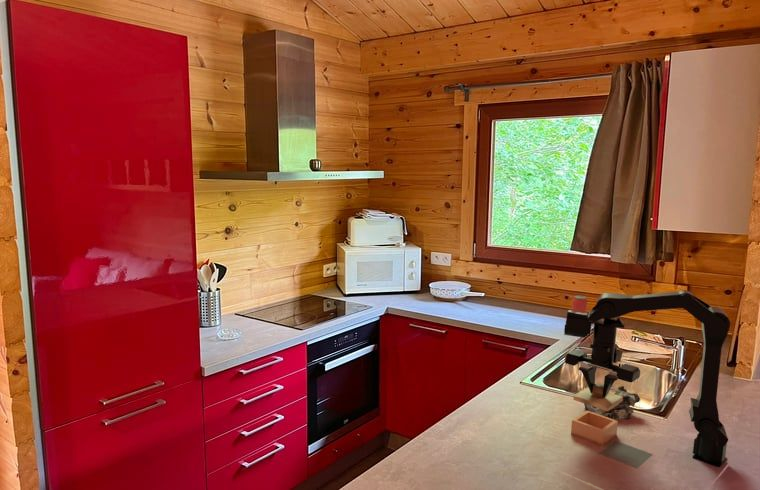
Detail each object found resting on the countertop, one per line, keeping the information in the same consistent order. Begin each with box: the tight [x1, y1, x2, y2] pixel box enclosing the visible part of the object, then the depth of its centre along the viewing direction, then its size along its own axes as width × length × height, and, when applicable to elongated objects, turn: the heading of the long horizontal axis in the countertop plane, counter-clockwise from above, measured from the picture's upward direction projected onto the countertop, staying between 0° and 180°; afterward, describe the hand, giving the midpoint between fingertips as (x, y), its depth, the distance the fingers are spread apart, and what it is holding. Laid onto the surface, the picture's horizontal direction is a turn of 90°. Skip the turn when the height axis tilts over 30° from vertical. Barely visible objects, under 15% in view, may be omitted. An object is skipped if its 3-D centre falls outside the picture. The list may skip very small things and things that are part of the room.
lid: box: [573, 383, 623, 411], centre depth 159 cm, size 10×10×4 cm
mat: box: [598, 439, 653, 469], centre depth 152 cm, size 10×10×1 cm
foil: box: [583, 385, 641, 423], centre depth 175 cm, size 12×11×15 cm
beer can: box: [571, 294, 588, 313], centre depth 271 cm, size 7×7×12 cm
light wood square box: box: [570, 410, 619, 447], centre depth 162 cm, size 9×9×4 cm
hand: (598, 395), depth 160 cm, fingers closed on lid, 3 cm apart
